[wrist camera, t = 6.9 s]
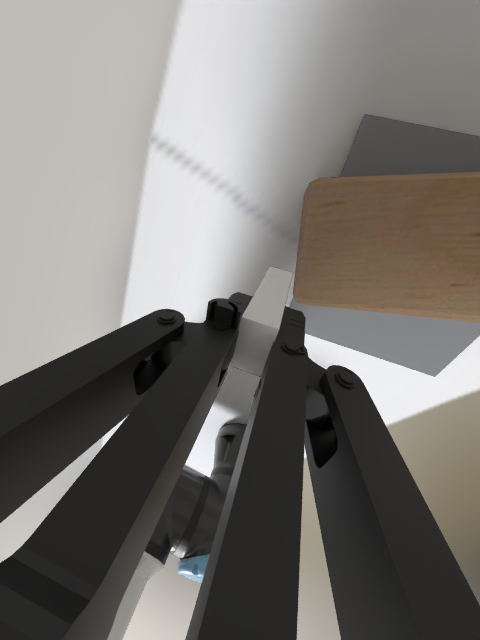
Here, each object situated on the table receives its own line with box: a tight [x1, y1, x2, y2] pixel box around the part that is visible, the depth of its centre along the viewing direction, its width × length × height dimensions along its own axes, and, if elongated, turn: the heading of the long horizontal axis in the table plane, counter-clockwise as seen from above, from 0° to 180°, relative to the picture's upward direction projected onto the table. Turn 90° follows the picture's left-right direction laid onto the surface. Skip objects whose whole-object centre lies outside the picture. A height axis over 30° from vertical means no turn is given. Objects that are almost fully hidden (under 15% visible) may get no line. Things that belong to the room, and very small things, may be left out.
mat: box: [289, 114, 480, 377], centre depth 25 cm, size 24×22×1 cm
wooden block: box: [293, 172, 480, 323], centre depth 19 cm, size 10×10×20 cm
